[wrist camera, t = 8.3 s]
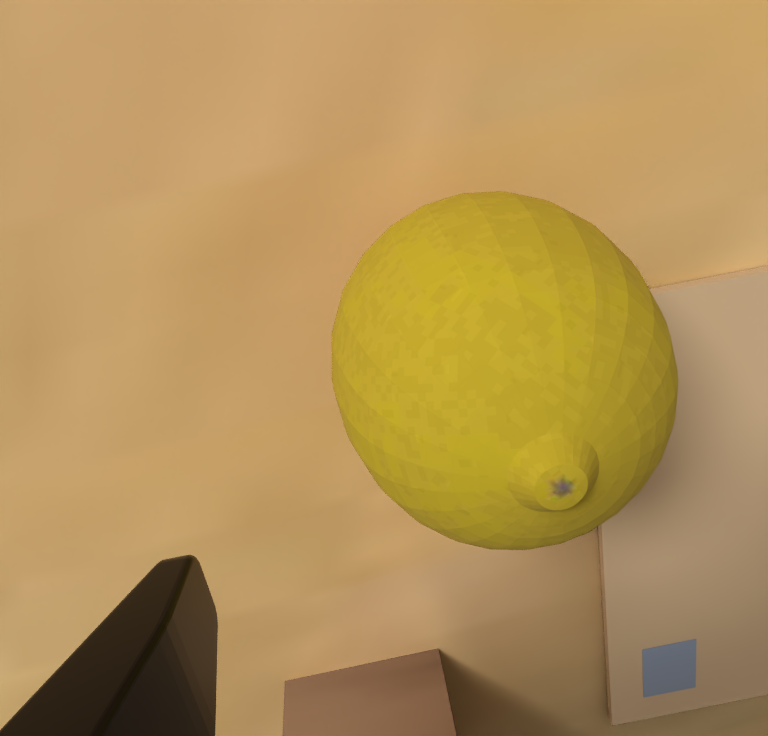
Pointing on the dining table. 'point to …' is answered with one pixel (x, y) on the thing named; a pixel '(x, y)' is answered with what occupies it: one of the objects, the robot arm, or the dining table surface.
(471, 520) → the lemon
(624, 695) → the envelope
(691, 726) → the dining table surface
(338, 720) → the walnut block
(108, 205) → the dining table surface
